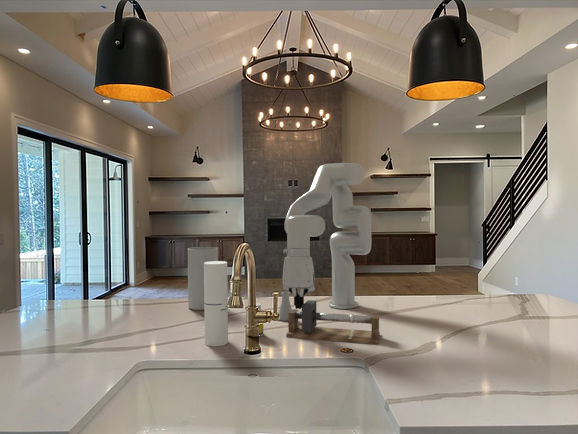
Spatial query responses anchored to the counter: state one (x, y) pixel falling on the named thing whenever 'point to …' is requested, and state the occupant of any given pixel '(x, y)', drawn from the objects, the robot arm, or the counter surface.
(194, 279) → the cylinder vase
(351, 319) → the steel pipe
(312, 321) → the rubber collar
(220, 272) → the cylindrical container
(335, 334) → the pipe stand
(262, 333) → the supplement bottle
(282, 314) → the flask
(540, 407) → the counter surface
